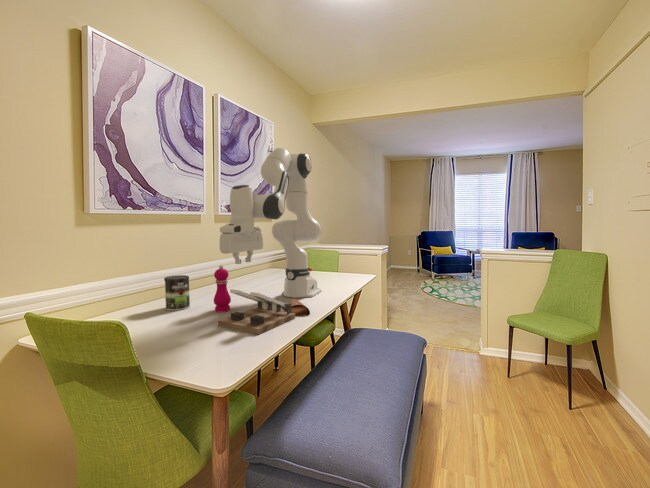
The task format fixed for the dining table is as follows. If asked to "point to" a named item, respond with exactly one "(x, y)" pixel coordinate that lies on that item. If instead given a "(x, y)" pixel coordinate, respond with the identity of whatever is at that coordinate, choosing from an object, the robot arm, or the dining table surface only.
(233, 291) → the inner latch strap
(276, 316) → the base
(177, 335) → the dining table surface
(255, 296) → the strap
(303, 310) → the sunglasses case
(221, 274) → the pepper mill
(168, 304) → the coffee can
